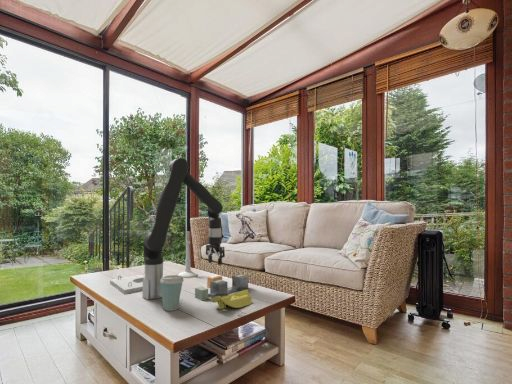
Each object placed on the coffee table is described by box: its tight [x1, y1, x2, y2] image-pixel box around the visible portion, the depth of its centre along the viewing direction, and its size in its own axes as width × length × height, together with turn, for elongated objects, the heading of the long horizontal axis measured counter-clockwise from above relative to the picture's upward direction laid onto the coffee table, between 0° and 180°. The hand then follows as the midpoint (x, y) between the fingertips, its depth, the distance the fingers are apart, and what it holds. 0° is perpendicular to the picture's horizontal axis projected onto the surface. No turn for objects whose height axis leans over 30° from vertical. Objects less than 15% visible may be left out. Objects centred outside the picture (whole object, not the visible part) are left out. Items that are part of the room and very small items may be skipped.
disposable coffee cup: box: [160, 274, 184, 312], centre depth 138 cm, size 11×11×15 cm
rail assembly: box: [208, 273, 249, 299], centre depth 163 cm, size 26×7×7 cm, turn 138°
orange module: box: [206, 274, 223, 289], centre depth 172 cm, size 7×5×6 cm
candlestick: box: [177, 231, 198, 279], centre depth 199 cm, size 13×13×30 cm
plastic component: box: [210, 289, 253, 310], centre depth 141 cm, size 20×7×10 cm
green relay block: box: [194, 286, 209, 301], centre depth 152 cm, size 4×6×5 cm, turn 45°
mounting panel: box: [109, 274, 167, 295], centre depth 179 cm, size 27×5×30 cm
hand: (215, 263), depth 173 cm, fingers open, 8 cm apart
